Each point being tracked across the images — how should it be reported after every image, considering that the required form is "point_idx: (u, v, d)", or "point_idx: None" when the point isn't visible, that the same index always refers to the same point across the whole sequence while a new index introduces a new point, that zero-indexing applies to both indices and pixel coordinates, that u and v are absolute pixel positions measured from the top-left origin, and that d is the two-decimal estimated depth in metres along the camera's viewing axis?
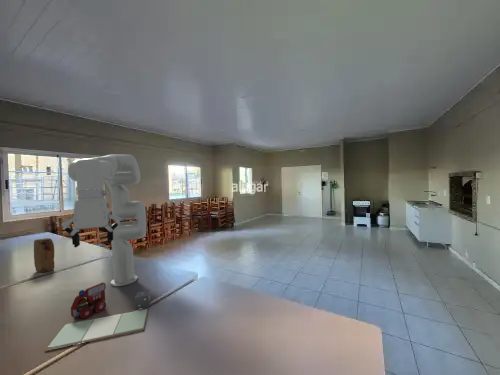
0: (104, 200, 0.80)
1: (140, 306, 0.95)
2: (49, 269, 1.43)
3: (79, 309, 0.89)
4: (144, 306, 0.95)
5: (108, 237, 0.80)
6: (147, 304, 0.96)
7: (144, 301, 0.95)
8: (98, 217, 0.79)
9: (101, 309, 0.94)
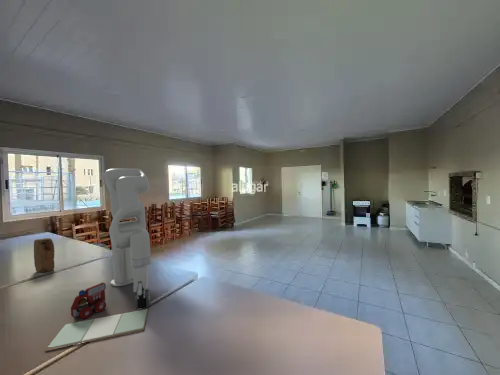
0: None
1: None
2: (49, 269, 1.43)
3: (79, 309, 0.89)
4: None
5: None
6: (147, 304, 0.96)
7: None
8: (148, 276, 1.00)
9: (101, 309, 0.94)
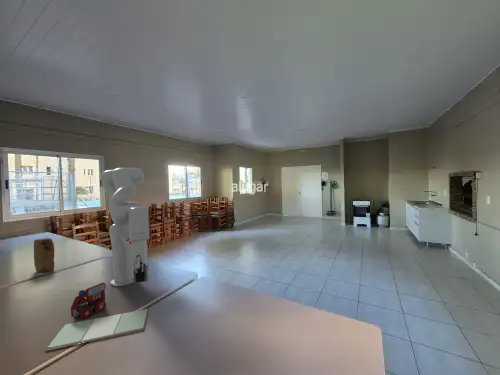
0: None
1: None
2: (49, 269, 1.43)
3: (79, 309, 0.89)
4: None
5: None
6: (145, 278, 0.96)
7: None
8: None
9: (101, 309, 0.94)
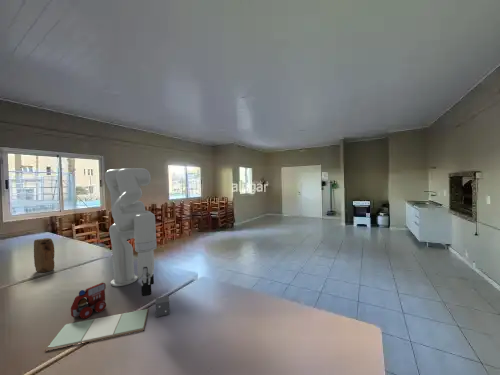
0: None
1: (158, 308, 0.88)
2: (49, 269, 1.43)
3: (79, 309, 0.89)
4: (157, 312, 0.88)
5: (153, 278, 0.94)
6: (159, 314, 0.88)
7: (163, 311, 0.89)
8: None
9: (101, 309, 0.94)
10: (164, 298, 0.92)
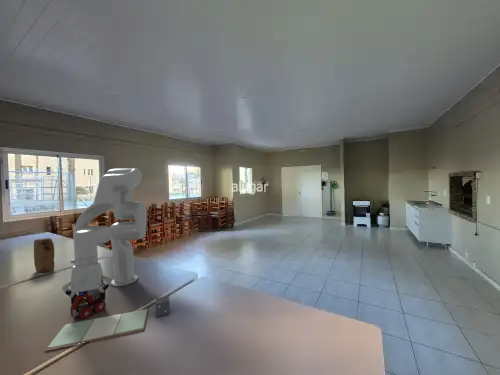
0: None
1: (158, 308, 0.88)
2: (49, 269, 1.43)
3: (79, 309, 0.89)
4: (157, 312, 0.88)
5: None
6: (159, 314, 0.88)
7: (163, 311, 0.89)
8: None
9: (101, 309, 0.94)
10: (164, 298, 0.92)
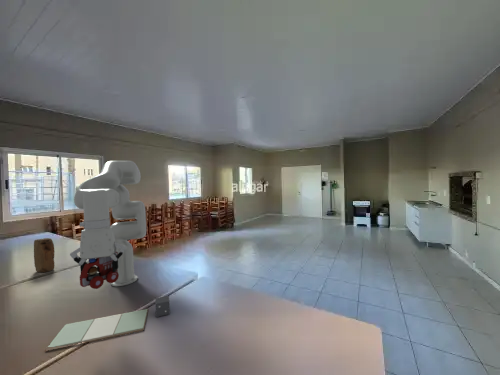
0: None
1: (158, 308, 0.88)
2: (49, 269, 1.43)
3: (89, 278, 0.79)
4: (157, 312, 0.88)
5: None
6: (159, 314, 0.88)
7: (163, 311, 0.89)
8: None
9: (113, 280, 0.83)
10: (164, 298, 0.92)
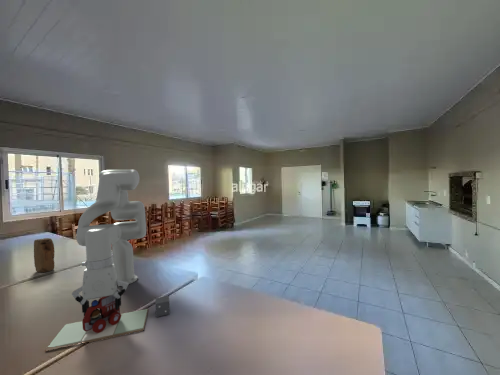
0: None
1: (158, 308, 0.88)
2: (49, 269, 1.43)
3: (92, 322, 0.79)
4: (157, 312, 0.88)
5: None
6: (159, 314, 0.88)
7: (163, 311, 0.89)
8: None
9: (116, 321, 0.83)
10: (164, 298, 0.92)
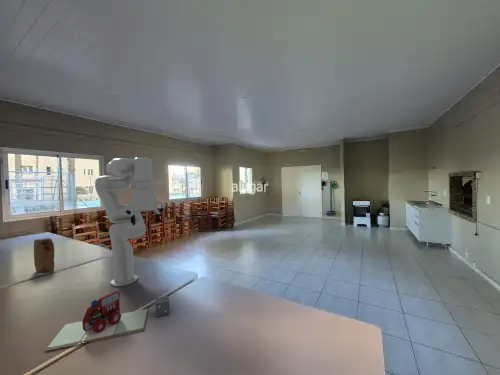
0: None
1: (158, 308, 0.88)
2: (49, 269, 1.43)
3: (92, 322, 0.79)
4: (157, 312, 0.88)
5: None
6: (159, 314, 0.88)
7: (163, 311, 0.89)
8: None
9: (116, 321, 0.83)
10: (164, 298, 0.92)
